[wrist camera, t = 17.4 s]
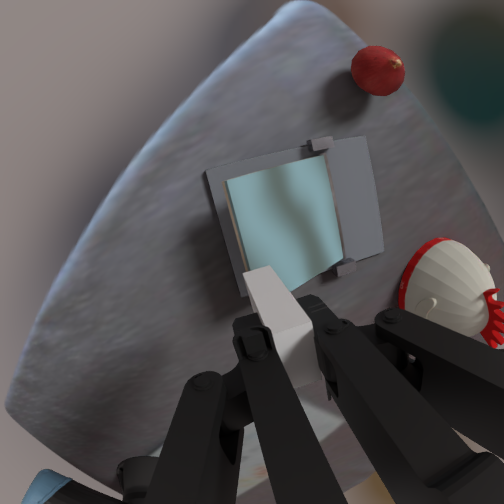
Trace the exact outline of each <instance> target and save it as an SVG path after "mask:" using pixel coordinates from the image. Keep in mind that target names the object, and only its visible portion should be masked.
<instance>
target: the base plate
mask: <svg viewBox="0 0 504 504" xmlns="http://www.w3.org/2000/svg"><path fill="white" fill-rule="evenodd" d="M333 142H334V146H335V147H333V148H327V149H322V150H317V151H312V152H309V150H308V146H303V147H298V148H293V149H289V150H284V151H280V152H275V153H271V154H266V155H262V156H258V157H254V158H250V159H246V160H242V161H238V162H234V163H230V164H226V165H222V166H219V167H215V168H211V169H208V170H205V171H206V174H207V178H208V182H209V185H210V189H211V193H212V196H213V200H214V204H215V207H216V211H217V214H218V218H219V222H220V225H221V229H222V232H223V236H224V239H225V243H226V246H227V250H228V253H229V257H230V260H231V264H232V267H233V271H234V274H235V278H236V281H237V285H238V288H239V291H240V295H241V297H245V296H248V295H249V294H248V291H247V287H246V284H245V280H244V277H243V273H245V272H246V270H245V266H244V263H243V259H242V256H241V252H240V248H239V245H238V241H237V237H236V234H235V230H234V226H233V223H232V219H231V215H230V212H229V208H228V204H227V200H226V197H225V193H224V189H223V186H222V181H225V180H229V179H232V178H236V177H239V176H243V175H246V174H250V173H253V172H257V171H261V170H264V169H268V168H272V167H276V166H279V165H283V164H287V163H291V162H295V161H299V160H303V159H307V158H312V157H316V156H318V154H320V153H326V154H327V158H328V163H329V167H330V172H331V177H332V181H333V186H334V191H335V196H336V201H337V206H338V212H339V217H340V223H341V229H342V234H343V240H344V247H345V253H346V259H347V258H352V259H354V260H355V261H358V260H361V259H364V258H367V257H370V256H373V255H375V254H378V253H381V252H384V244H383V235H382V227H381V220H380V213H379V206H378V200H377V193H376V187H375V182H374V176H373V171H372V166H371V161H370V156H369V151H368V146H367V142H366V137H365V135H364V136H358V137H352V138H346V139H340V140H334V141H333ZM331 269H333V268H332V266H330V267H329V268H327V269H326V270H324V271H322V272H325V271H328V270H331ZM322 272H321V273H322Z"/></svg>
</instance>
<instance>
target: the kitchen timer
mask: <svg viewBox="0 0 504 504" xmlns="http://www.w3.org/2000/svg"><path fill="white" fill-rule="evenodd" d="M489 271H490V267H489V265H487V264H483V263H482V262H481V260H480V259H479V258H478V257H477V256H476V255H475V254H474V253H473V252H472V251H470V250H469V249H468V248H467V247H466V246H464V245H462V244H461V243H458V242H456V241H453V240H451V239H448V238H435V239H433V240H431V241H429V242H427V243H425V244H424V245H423V246H422V247H421V248H420V249H419V250H418V251H417V252H416V253H415V254H414V256H413V257H412V259H411V260H410V261H409V263H408V265H407V267H406V269H405V271H404V274H403V276H402V279H401V283H400V287H399V298H398V304H399V308H400V309H404V310H406V311H409V312H411V313H413V314H416V315H418V316H420V317H423V318H425V319H427V320H430V321H432V322H435V323H437V324H439V325H442V326H444V327H446V328H449V329H451V330H453V331H456V332H458V333H460V334H463V335H465V336H467V337H471V336H473V335H476V334H478V333H479V332H480V333H481V335H482V336H483V338H484V339H485V340H486V342H487V343H488V345H489V346H491V347H493V348H496V347H497V344H496V343H498V344H500V345H502V344H503V343H504V338H503V337H502V336H501V335H500V333H499V332H501V333H504V324H502V323H504V313H503V312H502V311H500V310H499V309H501V308H502V307H503V306H504V302H501V301H497V295H496V293H497V292H498V291H499V290H500V289H498V288H495V286H494V282H493V279H492V277H491V275H490V273H489ZM501 322H502V323H501Z"/></svg>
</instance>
